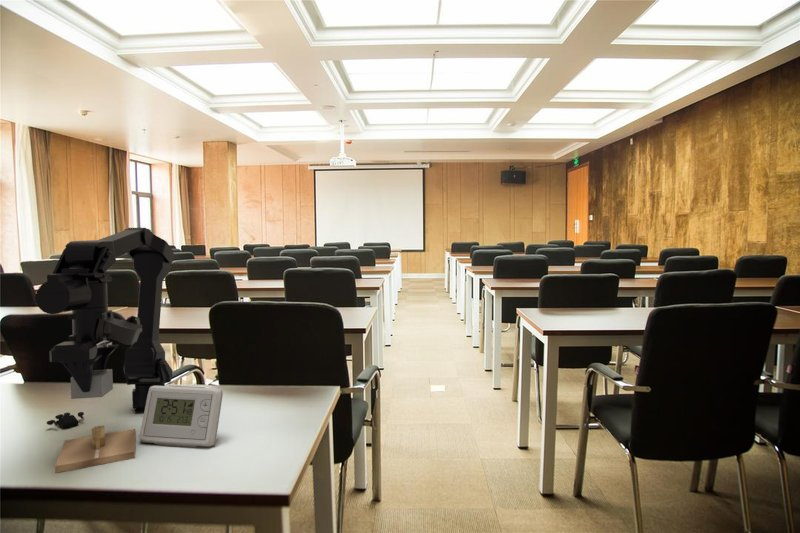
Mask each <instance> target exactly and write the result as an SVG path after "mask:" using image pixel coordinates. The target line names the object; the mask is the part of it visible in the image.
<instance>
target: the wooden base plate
mask: <svg viewBox="0 0 800 533" xmlns="http://www.w3.org/2000/svg"><path fill="white" fill-rule="evenodd" d="M105 431H106V430H105V426H104V425H96V426H93V427H92V428H91V435H90V436H89V435H88V436H82V437H78V438H77V437H76V438H72V439H65V440H64V442H63V445H62V447H61V450H60V452H59V455H58V458H57V461H56V463H55V465H54V473H55V474H58V473H63V472H68V471H74V470H80V469H84V468H88V467H95V466H100V465H103V464H110V463H114V462H120V461H124V460H130V459H131V460H132V459H134V458H135V459H136V434H137V431H136V428H131V429H125V430H118V431H113V432H107V433H106V432H105Z"/></svg>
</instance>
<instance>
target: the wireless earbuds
mask: <svg viewBox="0 0 800 533" xmlns="http://www.w3.org/2000/svg"><path fill="white" fill-rule="evenodd" d="M84 415H85V413H84V412H83V411H79V412H78V413H77V417H79V418H80V419H81V420H85V417H84ZM54 418H55V419H57V420H55V419H50V420H48V421H46V425H49V426H51V425H52V426H53V425H55V428H58V427H61V428H62V429H63V430H68V429H71V428H74V427H77V426H78V425H79V423H80V422H79V420H78V418H76V416H75V415H73V414H71V412H64V413H63V414H57V415H55V417H54Z"/></svg>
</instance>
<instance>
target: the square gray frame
mask: <svg viewBox="0 0 800 533" xmlns="http://www.w3.org/2000/svg"><path fill="white" fill-rule="evenodd" d="M113 377H114V376H113V368H107V369H104V370H93V372H92V380H91V387H90V391H89V392H82V390H81V389H80V387H79V386H78V384H77V383H76V381H75V380H74V378H73V377H72V376H71V377H70V396H71V397H70V399H71V400H74V399H75V400H76V399H94V398H104V397H105V395H107V394H108V393H109V392H111V391H113V390H114V384H113V383H114V382H113V381H114V380H113Z"/></svg>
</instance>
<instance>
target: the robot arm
mask: <svg viewBox="0 0 800 533" xmlns="http://www.w3.org/2000/svg"><path fill="white" fill-rule="evenodd" d="M125 254H127V255H128V257H129V258H130V259H131V260H132V261H133V264H132V265H133V266H132V267H133V270H134V271H135V273H136V275H137V276H138V278H139V289H138V304H137V315H136V316H135V315H131V316H129V317H127V318H126V319H125V320H124V319H123V318H121V319H119V318H115V317H114V311H113V310H112V309H108V308H109V304H108V302H109V301H108V282H112V281H113V277H112V276H111V275H110V274H108V273H107V271H109V269H111V268H112V267H113V266H115V264H116V263H117V258H118V257H121V256H123V255H125ZM174 258H175V253H174V250H173V248H172V247H171V246H170V244H169V243H168V242H167V241H166V239H163V238H161V237H159V236H157V235H156V234H154V232H153V231H152V230H151V229H150V228H147V227H127V228H125V229H124V230H121V231H119V232H117V233H114V234H111V235H108V236H105V237H102V238H100V239H93V240H92V239H91V240H90V239H88V240H71V241H69V242H68V243H66V245H65V248H64V249H63V250H62V253H61V255H60V257H59V259H58V261H57V263H56V266H55V268H54V269H53V272H52V273H51V274H47V275H46V282H44V283H42V284H41V285H40V286H39V287H38V288H37V290H36V293H35V296H34V301H35V303H36V306H37V307H38V308H39V310H41V311H42V312H44V313H45V314H49V315H57V314H62V313H63V314H64V313H67V312H71V313H68V314H67V321H69V320H71V322H72V323H71V325H72V334H71V335H68V336H67V337H68V341H62V342H61V343H58V344H56V345H54V346H53V347H51V349H50V350H49V362H50V363H61V364H62V365H63V366H64V368H66V370H67V371H68V373H69V374H70V375H71V377H73V378H74V380H75V381H76V383H77V384H78V386H79V387H80V389H81V390H82V392H89V391H90V387H91V380H92V372H93V370H104V369H106V368H107V366H108V362H109V359H110V356H111V354H113V352H115V350H117V348H119V347H120V344H122V345H126V346H130V347H126V348H125V350H124V360H123V365H122V372H123V375H124V378H125V382H126V385H127V386H131V385H134V388H133V389H132V390H131V394H132V395H131V396H132V400H131V401H132V409H133V410H134V414H141V413H144V411H145V406H146V401H147V395H148V391H149V388H150V387H151V386H166V384H167V383H171V381H172V379H173V371H174V370H173V369H172V367H171V366H170V364H169V363H168V362H167V360H166V350H164V347H163V346H162V344H161V342H160V325H161V324H160V323H161V311H162V310H161V309H162V308H161V307H162V298H163V297H162V296H163V283H164V280H165V279H166V278H167V276H168V275H169V273H170V272H171V270H172V264H173V262H174ZM114 341H116V342H117V344H113V342H114Z"/></svg>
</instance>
